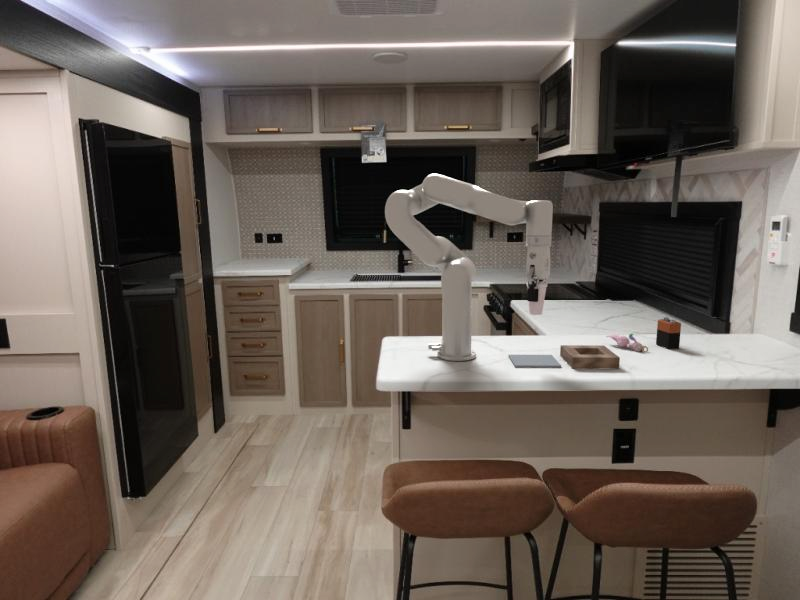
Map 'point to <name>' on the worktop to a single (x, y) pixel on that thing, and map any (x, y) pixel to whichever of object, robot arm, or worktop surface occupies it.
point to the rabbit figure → (628, 342)
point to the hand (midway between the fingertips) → (536, 299)
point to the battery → (668, 333)
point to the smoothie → (537, 307)
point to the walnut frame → (589, 356)
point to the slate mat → (534, 361)
